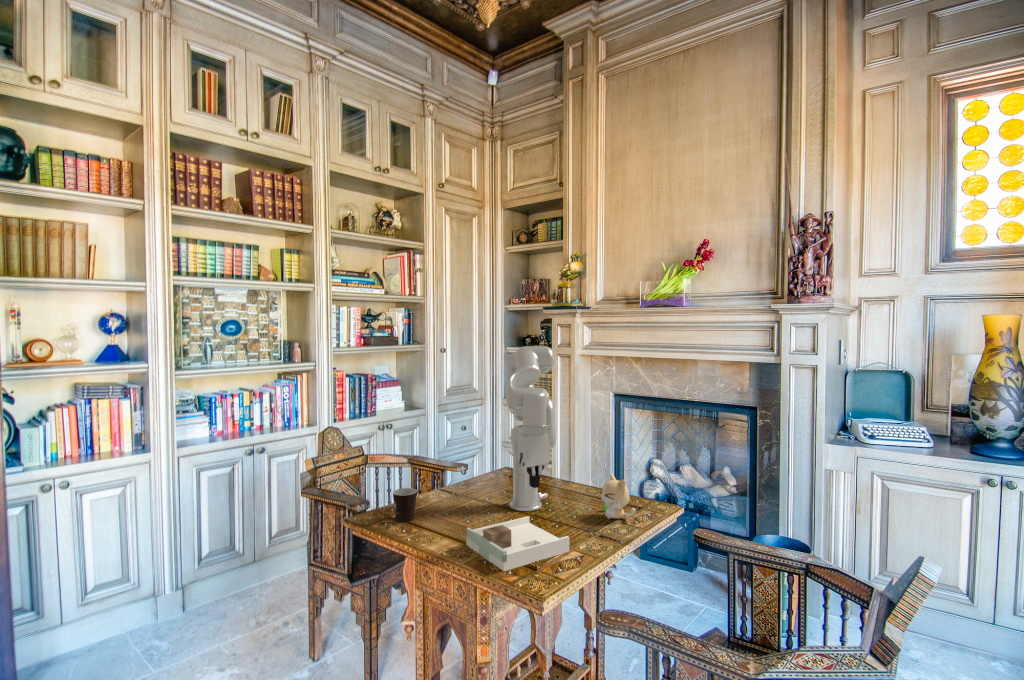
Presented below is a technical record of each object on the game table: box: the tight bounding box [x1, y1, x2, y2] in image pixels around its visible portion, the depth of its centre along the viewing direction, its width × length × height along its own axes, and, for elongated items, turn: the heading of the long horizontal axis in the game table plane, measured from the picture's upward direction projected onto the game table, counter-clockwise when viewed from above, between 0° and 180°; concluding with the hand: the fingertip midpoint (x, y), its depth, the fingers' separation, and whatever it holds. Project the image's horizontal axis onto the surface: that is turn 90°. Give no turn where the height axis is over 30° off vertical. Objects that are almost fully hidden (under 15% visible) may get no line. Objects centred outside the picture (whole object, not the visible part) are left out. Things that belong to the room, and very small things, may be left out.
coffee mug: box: [392, 487, 418, 523], centre depth 189 cm, size 12×9×10 cm
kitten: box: [600, 472, 636, 520], centre depth 192 cm, size 15×10×15 cm
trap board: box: [465, 515, 570, 572], centre depth 164 cm, size 24×22×6 cm
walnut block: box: [483, 525, 511, 549], centre depth 160 cm, size 7×5×5 cm
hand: (534, 486), depth 168 cm, fingers closed
